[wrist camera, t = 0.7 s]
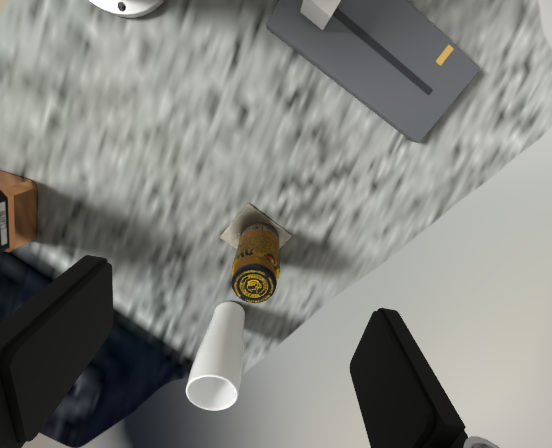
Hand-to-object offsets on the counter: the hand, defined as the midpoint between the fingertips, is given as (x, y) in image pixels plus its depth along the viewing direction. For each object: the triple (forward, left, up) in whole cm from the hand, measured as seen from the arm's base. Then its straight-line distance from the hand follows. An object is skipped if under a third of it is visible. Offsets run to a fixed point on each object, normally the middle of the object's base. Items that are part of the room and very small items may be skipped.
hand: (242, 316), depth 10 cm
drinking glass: (+9, -26, -31) cm, 41 cm away
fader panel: (+3, +18, -31) cm, 36 cm away
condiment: (+5, -11, -31) cm, 33 cm away
